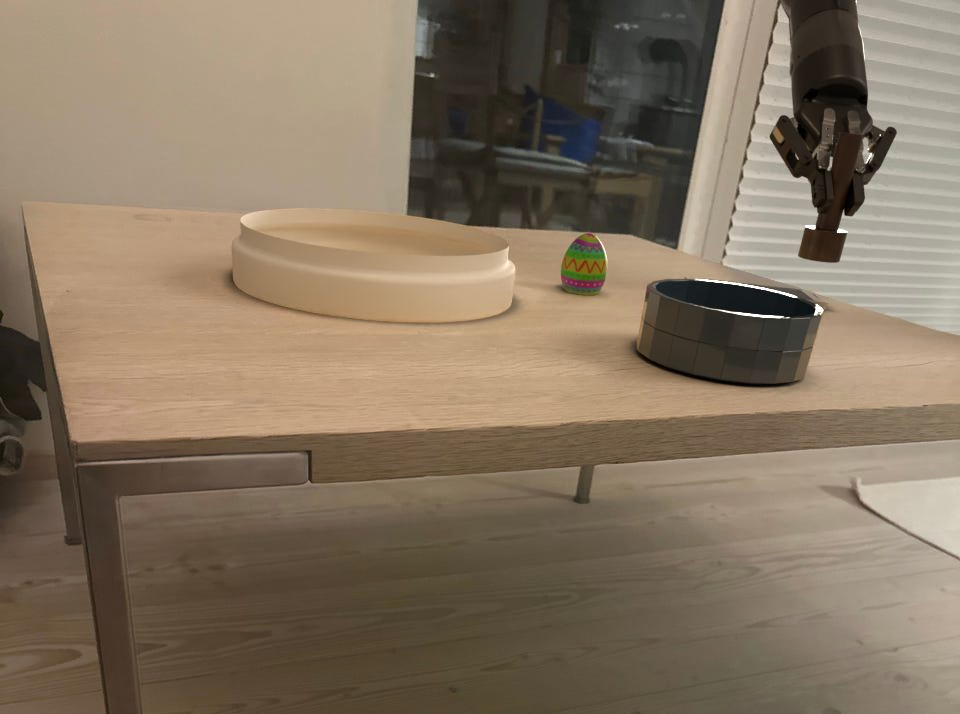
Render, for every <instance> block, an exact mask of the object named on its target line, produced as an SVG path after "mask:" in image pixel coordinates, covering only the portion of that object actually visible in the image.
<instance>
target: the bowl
mask: <svg viewBox="0 0 960 714" xmlns="http://www.w3.org/2000/svg"><path fill="white" fill-rule="evenodd" d="M712 280H713V279H712ZM712 280H699V279H685V278H664V279H657V280H653V281H651V282H649V283H647V285H646V289H645V296H644V302H643V307H642V311H641V318H640V324H639V328H638V334H637V340H636V344H635V345H636V349H637V351H638V353H639V354H641V355H642V356H644V357H646V358H647V359H648V360H650V361H653V362H655V363H656V364H659V365H660V366H663V367H664V368H667V369H670V370H673V371H675V372H679V373H682V374H685V375H689V376H693V377H697V378H702V379H705V380H706V379H707V380H712V381H716V382H717V381H719V382H724V383H731V384H740V385H774V384H784V383H794V382H796V381H799V380H801V379H804V378H805V377H806V374H807V372H808V368H809V365H810V360H811V358H812V354H813V351H814V346H815V344H816V340H817V337H818V332H819V329H820V326H821V323H822V318H823V314H824V311H825V310H823V309H822V308H820V307H819V306H818V305H817V304H814V303H812V302H810V301H807V300H805V299H803V298H800V297H796V296H793V295H789V294H786V293H782V292H778V291H773V290H769V289H764V288H760V287H755V286H749V285H743V284H737V283H729V282H721V281H722V280H721V281H712Z"/></svg>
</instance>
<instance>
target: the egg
mask: <svg viewBox="0 0 960 714" xmlns="http://www.w3.org/2000/svg"><path fill="white" fill-rule="evenodd" d="M560 267H561V268H560V279H561V284H562V286H563V289H564V291H565V292H567V293H569V294H573V295H579V296H596V295H597V294H598V293H599V292H600V291H601V289H602V288H603V286H604V285H605V282H606V279H607V275H608V257H607V252H606V249H605V247H604V245H603V242H602V241H601V240H600V238H599V237H598V236H597V235H595V234H593V233H591V232H590V233H589V232H586V233H583V234H581V235H579V236H578V237H576V238H575V239H574V240H573V241H572V243H570V244H569V246H568V248H567V249H566V252H565V254H564V256H563V259H562V261H561V266H560Z"/></svg>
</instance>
